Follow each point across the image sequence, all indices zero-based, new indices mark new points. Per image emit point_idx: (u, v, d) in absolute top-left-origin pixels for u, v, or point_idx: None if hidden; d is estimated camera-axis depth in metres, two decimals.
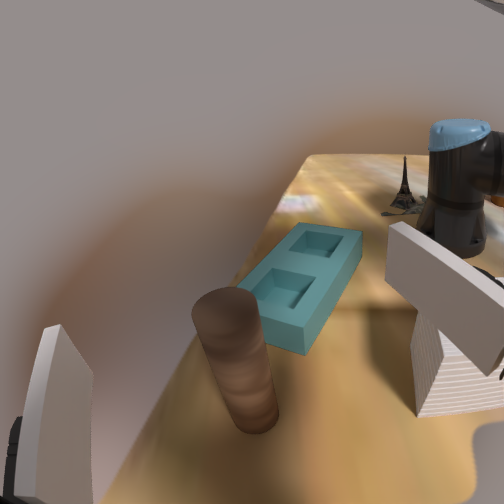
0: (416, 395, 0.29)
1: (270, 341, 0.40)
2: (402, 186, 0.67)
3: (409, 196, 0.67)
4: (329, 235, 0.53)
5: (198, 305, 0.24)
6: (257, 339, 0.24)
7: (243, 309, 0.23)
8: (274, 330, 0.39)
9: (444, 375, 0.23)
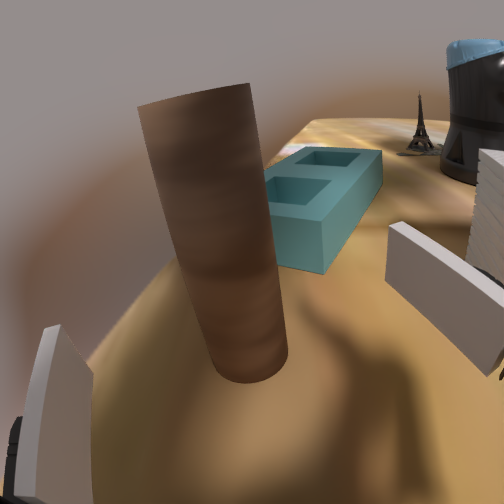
0: None
1: None
2: (418, 127, 0.56)
3: (426, 139, 0.56)
4: (343, 154, 0.42)
5: None
6: (249, 142, 0.12)
7: None
8: (278, 236, 0.27)
9: None
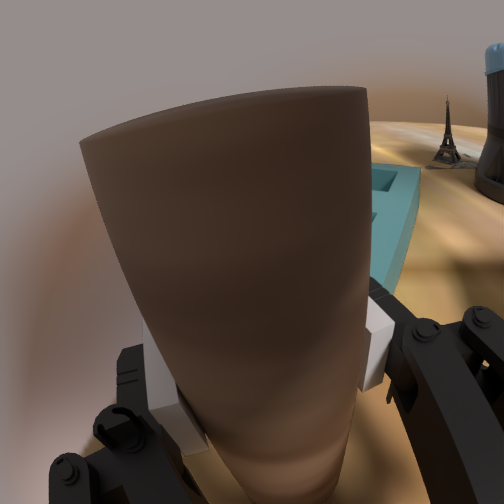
0: None
1: None
2: (445, 137, 0.49)
3: (454, 149, 0.49)
4: (377, 172, 0.35)
5: (125, 122, 0.06)
6: (367, 242, 0.05)
7: (310, 90, 0.05)
8: None
9: None
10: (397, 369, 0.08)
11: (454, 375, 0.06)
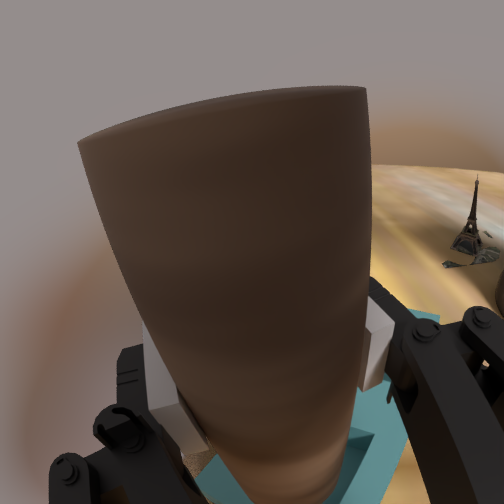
0: None
1: None
2: (469, 222, 0.42)
3: (476, 236, 0.43)
4: None
5: (124, 122, 0.06)
6: (367, 244, 0.05)
7: (309, 90, 0.05)
8: None
9: None
10: (397, 369, 0.08)
11: (454, 375, 0.06)
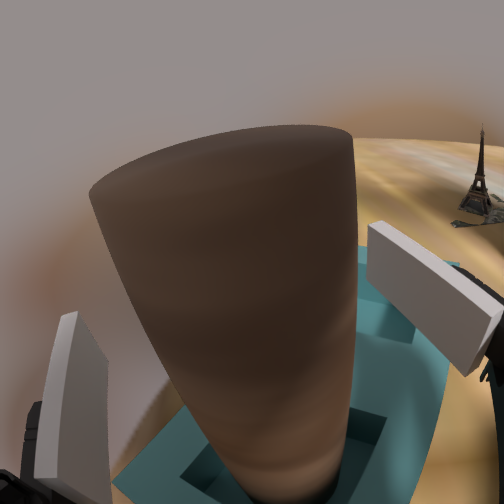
0: None
1: None
2: (477, 178, 0.36)
3: (486, 195, 0.36)
4: None
5: (129, 165, 0.06)
6: (352, 281, 0.06)
7: (300, 141, 0.05)
8: None
9: None
10: (498, 345, 0.07)
11: None
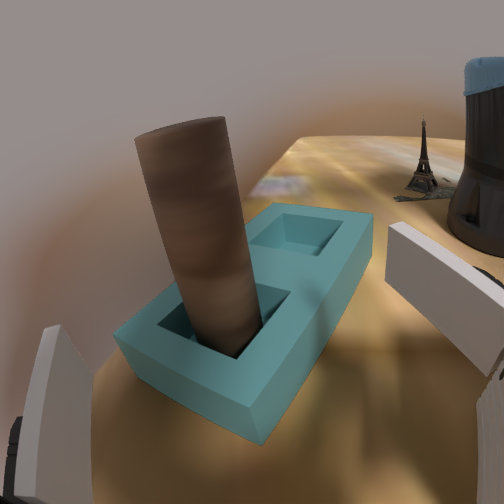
0: None
1: (198, 411, 0.20)
2: (421, 162, 0.47)
3: (430, 176, 0.47)
4: (320, 221, 0.33)
5: (147, 133, 0.17)
6: (224, 168, 0.16)
7: (205, 122, 0.15)
8: (199, 398, 0.18)
9: None
10: None
11: None
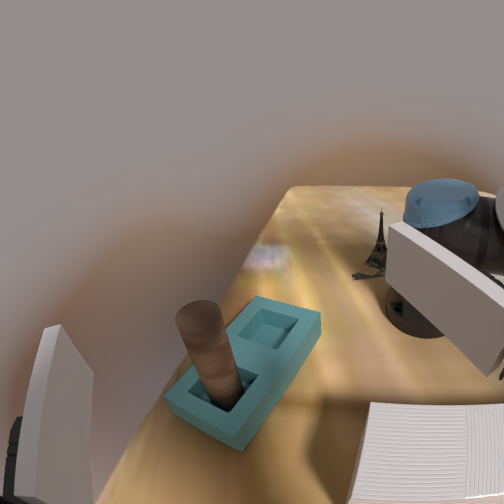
0: None
1: (210, 434, 0.37)
2: (377, 243, 0.64)
3: (385, 254, 0.64)
4: (284, 316, 0.50)
5: (180, 312, 0.34)
6: (220, 337, 0.34)
7: (210, 316, 0.33)
8: (211, 429, 0.36)
9: None
10: None
11: None
